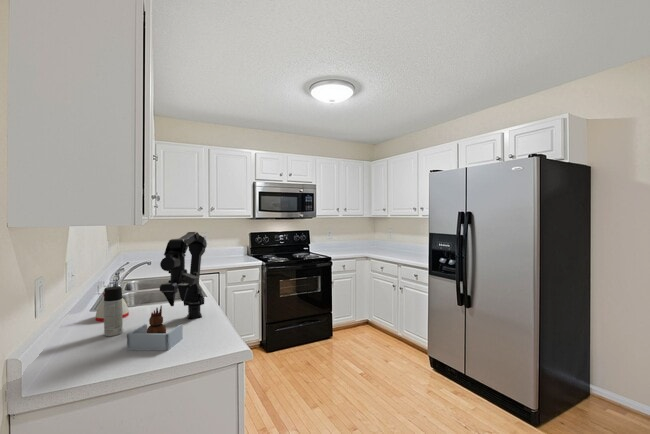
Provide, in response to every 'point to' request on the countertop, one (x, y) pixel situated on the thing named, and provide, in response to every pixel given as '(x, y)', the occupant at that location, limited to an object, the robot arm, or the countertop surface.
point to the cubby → (153, 339)
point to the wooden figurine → (156, 323)
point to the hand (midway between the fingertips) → (177, 303)
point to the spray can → (113, 311)
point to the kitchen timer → (101, 310)
